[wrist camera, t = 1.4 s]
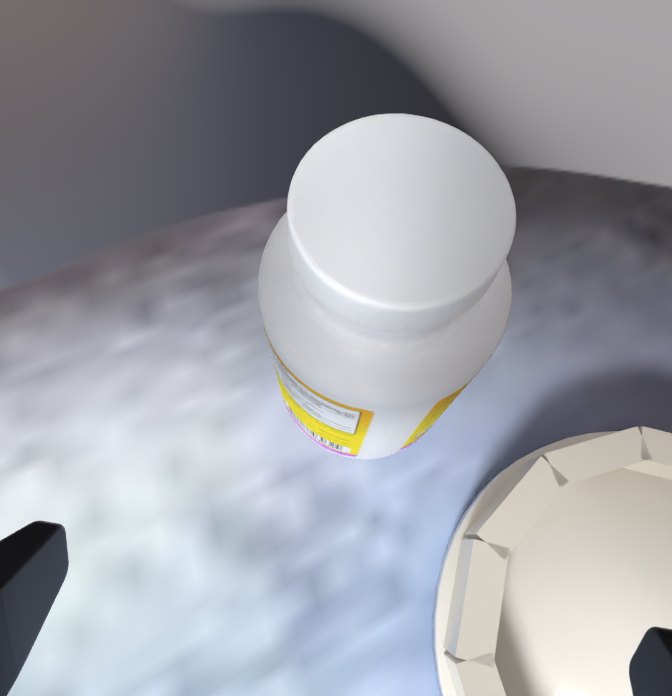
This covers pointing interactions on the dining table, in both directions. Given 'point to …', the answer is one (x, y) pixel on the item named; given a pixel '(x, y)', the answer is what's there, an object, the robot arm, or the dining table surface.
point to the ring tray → (559, 570)
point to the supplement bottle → (386, 280)
